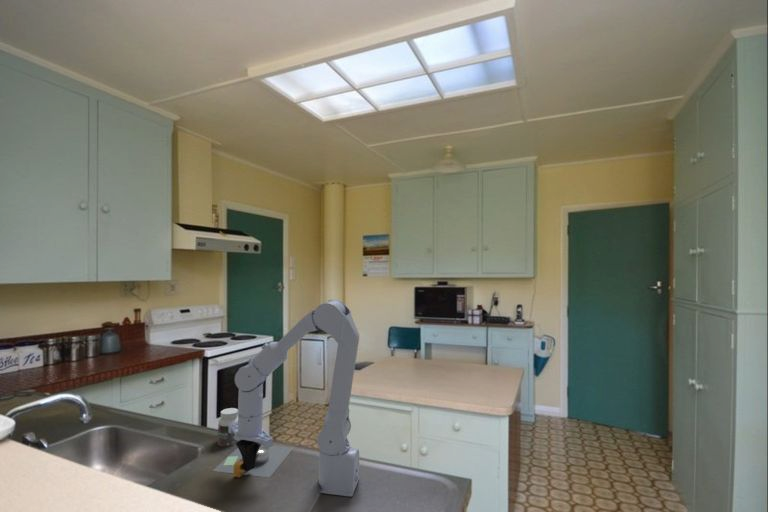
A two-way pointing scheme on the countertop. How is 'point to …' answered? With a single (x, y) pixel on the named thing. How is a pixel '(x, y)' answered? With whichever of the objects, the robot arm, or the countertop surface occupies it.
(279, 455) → the board
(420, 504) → the countertop surface
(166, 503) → the countertop surface
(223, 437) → the pill bottle
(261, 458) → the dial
